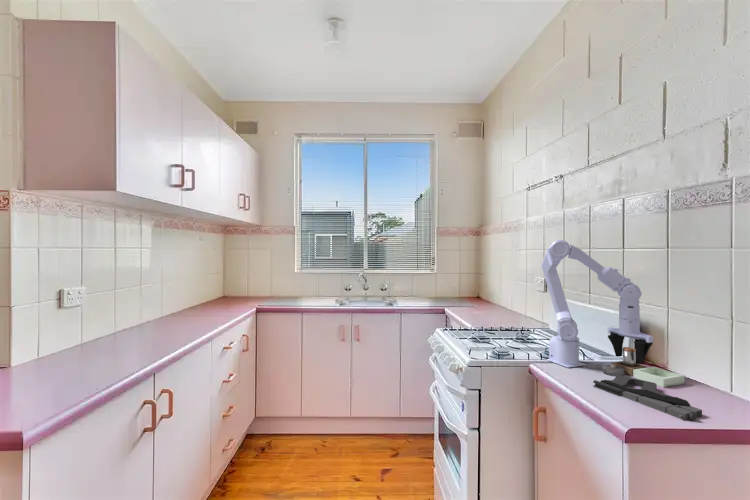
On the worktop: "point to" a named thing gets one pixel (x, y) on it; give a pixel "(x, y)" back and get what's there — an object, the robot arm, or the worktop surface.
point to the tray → (659, 376)
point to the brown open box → (620, 369)
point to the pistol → (649, 396)
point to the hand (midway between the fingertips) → (629, 359)
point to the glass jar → (629, 357)
